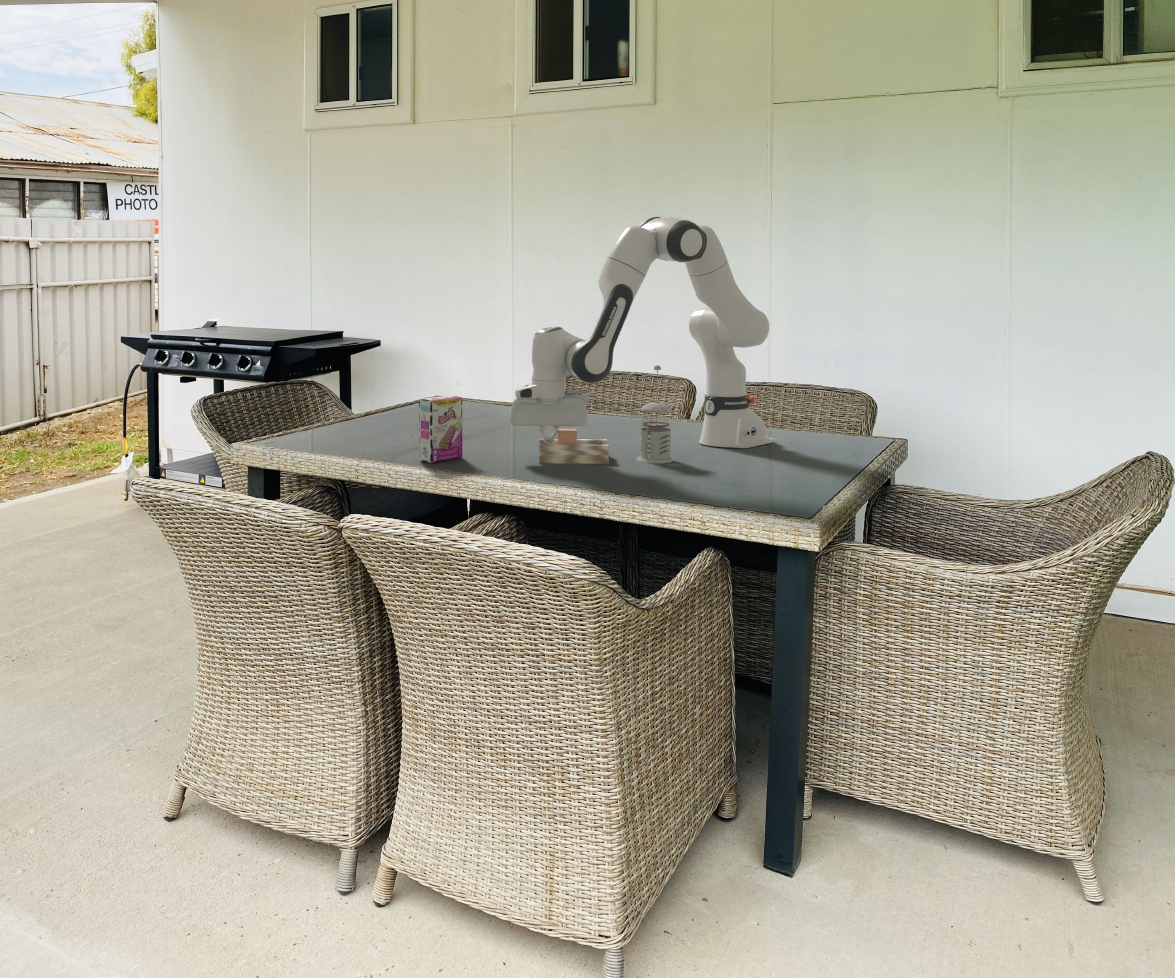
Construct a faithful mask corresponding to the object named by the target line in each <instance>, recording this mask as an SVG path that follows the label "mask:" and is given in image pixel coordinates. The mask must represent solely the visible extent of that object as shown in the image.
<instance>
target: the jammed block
mask: <svg viewBox="0 0 1175 978" xmlns="http://www.w3.org/2000/svg"><path fill="white" fill-rule="evenodd" d="M556 435H557V437H556V438H557V445H577V439H578V431H577V428H558V432H557V434H556Z"/></svg>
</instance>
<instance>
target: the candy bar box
mask: <svg viewBox="0 0 1175 978" xmlns="http://www.w3.org/2000/svg"><path fill="white" fill-rule="evenodd" d="M418 409H419V413H418V414H419V417H418V418H419V420H418V422H419V462H423V463H428V464H435V463H441V462H446V461H447V462H448V461H451V460H452V461H453V460H457V459H461V458H463V397H462V396H457V395H442V396H434V397H425V398H424V397H423V398H419V399H418Z"/></svg>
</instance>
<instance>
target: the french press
mask: <svg viewBox="0 0 1175 978" xmlns="http://www.w3.org/2000/svg"><path fill="white" fill-rule="evenodd" d="M653 370H655V371H656V386H658V384H659V383H658V382H659V381H658V379H659V378H658V377H659V376H658V375H659V371H661V370H662V367H661V366H660V365H658V364H656V365H654V367H653ZM655 394H656V396H655V397H656V399H655V401H654V402H650V403H647V404H645V405H643V406H642V407H641V408H640V409H641V411H642V412H645V413H646V412H647V413H655V421H653V419H654V416H653V415H651V416H650V417H649V419H648V415H647V414H646V415H645V416H644V417H643V418H642V423H641V426H640V427H641V428H640V435H641V436H640V456H638V457H637V458H636V460H637V462H640V463H645V464H669V463H673V462H674V459H673V458H672V457H671V453H670V452H671V437H672V436H671V434H672V433H671V431H672V430H671V428H668V427H669V426H670V423H669V422H666V421H658V420H657V418H658V417H657V416H658V415H657V414H658V413H665V412H666V413H667V412H671V411H672V410H673V408H672V407H671V406H669V405H668V404H666V403H663V402H658V391H656V393H655ZM645 418H646V419H645ZM644 420H646V421H644ZM643 426H644V427H643ZM649 436H650V437H649Z"/></svg>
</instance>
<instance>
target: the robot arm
mask: <svg viewBox="0 0 1175 978" xmlns="http://www.w3.org/2000/svg"><path fill="white" fill-rule="evenodd" d="M657 259H658V260H662V261H666V262H669V261H670V262H678V263H685V267H686V268H685V269H686V270H687V271H686V272H687V273H688V276H689V279H690V282H691V284H692V288H693V290H694V292H695V296H696V298H697V299H698V300H699V301H700V302H701V303H702V304H704V305H705V306H706V307H702V308H697V309H696V310H695V311H693V313H692V314H691V316H690V318H689V323H688V330H689V334H690V336H691V337H692V338H693V340H694V341H695V342H696V343H697V345H698V346H699V348H700V350H701V353H702V355H703V358H704V362H705V367H706V391H705V392H706V393H705V394H704V404H703V406H704V416H703V423H702V429H701V434H700V438H699V441H698V443H699V444H700V445H701V444H702V445H704V446H710V447H718V448H735V449H737V448H738V449H748V448H755V447H759V446H761V445H762V446H763V445H767V444H772V443H774V442H775V440H774V438H772V437H771V436H767V426H766V424H765V421H764V420H763V418H761V417H760V416H759V415H758V414H756V413H755V412H754V411H753V410H752V409H751V408H750V404H756V402H757V398H756V396H752V395H749V396H747V394H746V380H747V370H746V367H745V365H744V364H743V363H742V362H741V361H740V360H739V359H738V358H737V355H736V353H735V350H734V348H741V349H742V348H745V349H746V348H753V347H758V346H761V345H762V344H763V343H764V342H765V341H766V340H767V338H768V336H769V332H770V321H769V318H768V317H767V314H765V312H763V311H761V310H760V309H758V308H757V307H755V306H754V305H753V304H752V303H751V302H750V301H749V299H748V298H747V297H746V296H745V295H744V293H743V292H742V290H741V289H740V288H739V286H738V285H737V282H736V280H735V278H734V275H733V273H732V270H731V267H730V264H729V262H728V257H727V256H726V253H725V249H724V247H723V245H722V244H721V242H720V239H719V238H718V236H717V234H716V232H715V231H714V229H713V228H712V227H710V226H707V225H698V224H696V223H695V222H693V221H691V220H688V219H687V220H686V219H682V218H678V217H671V216H670V217H661V216H654V217H650V218H647V219H645V220H643V221H642V222H641V223H640V225H632V226H628V227H627V228H626V229H625V230H624V231H623V232H622V233H621V234H620V236H619V237H618V239H617V240H616V242H615V243H614V244H613V246H612V248H611V250H610V252H609V254H607V257H606V259H605V261H604V263H603V266H602V268H601V270H600V274H599V278H598V286H599V287H598V288H599V291H600V292H601V295H602V298H603V299H602V300H603V306H602V309H601V312H600V315H599V317H598V319H597V322H596V324H595V327H594V328H593V332H592V333H591V335H590V336H589V338H588V339H587V340H586V339H583V338H582V337H581V338H580V337H578V336H575V335H573V334H571V333H570V332H568V331H566V330H565V329H564V328H563V327H560V326H549V327H544V328H542V329H539V330H537V331H536V332H535V333H534V335H533V340H532V347H531V364H532V368H533V371H532V376H531V383H528V384H525V385H522V386H521V385H520V386H518V387H517V388H515V391H514V395H515V398H514V400H513V402H512V404H511V410H510V419H509V420H510V421H509V422H510V424H511V425H512V426H513V427H539V432H540V433H541V435H542V437H543V439H544V443H554V439H555V436H556V435H557V434H558V429H559V427H585V426H586V425H587V423H588V412H587V407H588V406H589V403H590V401H589V399H590V397H589V394H588V393H587V392H584V390H581V389H579V390H573V389H570V390H568V389H567V383H566V382H567V376H568V375H573V376H574V377H577V378H579V379H580V380H581V381H583V382H585V383H589V384H595V383H599V382H601V381H603V380H604V379H606V378H607V376H609V374H610V373H611V370H612V366H613V361H614V360H613V357H614V350H615V347H616V343H617V341H618V338H619V336H620V334H621V331H622V328H623V327H624V324H625V322H626V320H627V317H628V314H629V312H630V308H631V306H632V304H633V302H634V300H635V298H636V296H637V294H638V292H639V290H640V288H641V286H642V285H643V282H644V280H645V277H646V276H647V274H648V271H649V269H650V267H651V265H652V264H653V263H654V261H655V260H657ZM546 427H552V430H553V432H552V434H550V435H549V434H546V432H545V430H546Z"/></svg>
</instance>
